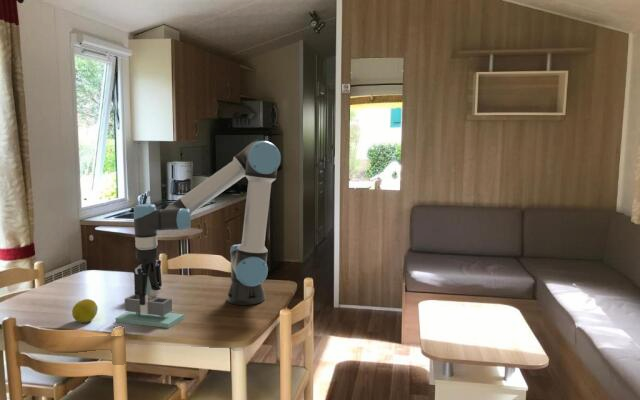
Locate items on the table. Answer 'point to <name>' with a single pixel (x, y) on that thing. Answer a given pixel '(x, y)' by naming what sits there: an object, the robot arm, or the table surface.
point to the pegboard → (150, 319)
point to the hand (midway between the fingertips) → (149, 309)
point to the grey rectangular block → (149, 305)
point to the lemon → (84, 310)
